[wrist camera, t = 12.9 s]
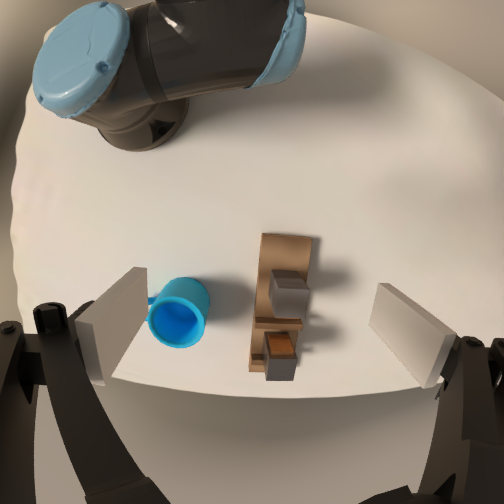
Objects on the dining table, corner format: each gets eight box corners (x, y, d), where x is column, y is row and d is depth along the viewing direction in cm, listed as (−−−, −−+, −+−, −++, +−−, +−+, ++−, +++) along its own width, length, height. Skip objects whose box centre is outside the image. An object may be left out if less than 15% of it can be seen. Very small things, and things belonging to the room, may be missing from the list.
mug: (210, 278, 45) (205, 298, 37) (209, 324, 47) (204, 350, 39) (138, 273, 44) (120, 291, 36) (141, 318, 46) (126, 341, 38)
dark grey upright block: (264, 328, 45) (269, 355, 37) (288, 328, 45) (298, 355, 37) (261, 351, 46) (266, 380, 38) (284, 352, 46) (293, 380, 38)
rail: (261, 233, 43) (268, 247, 34) (308, 237, 44) (328, 252, 34) (248, 365, 49) (251, 401, 39) (288, 366, 49) (298, 401, 40)
